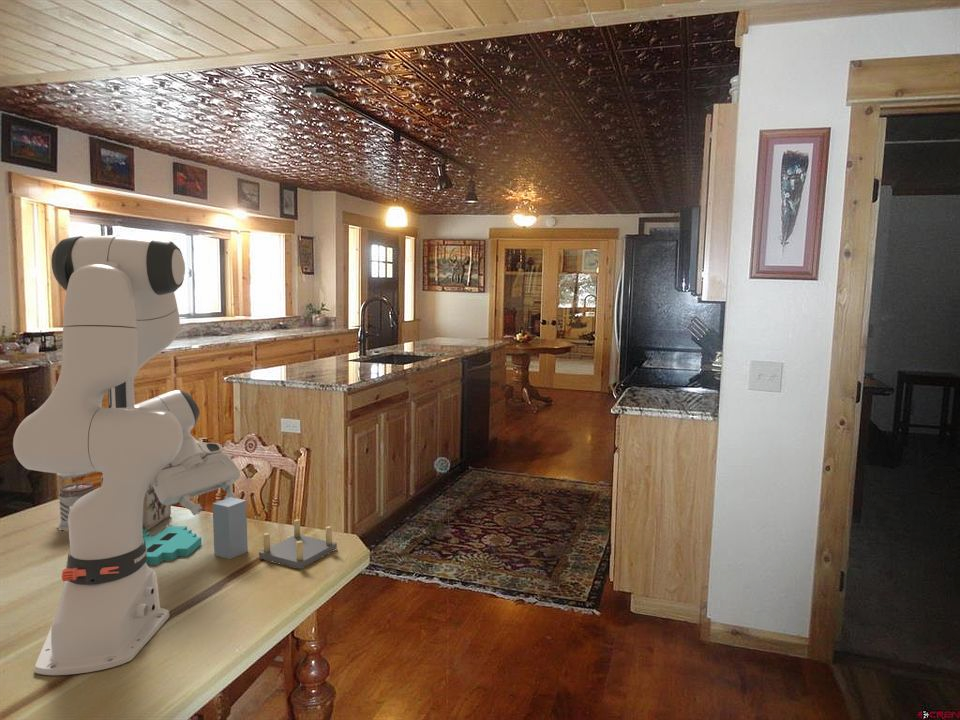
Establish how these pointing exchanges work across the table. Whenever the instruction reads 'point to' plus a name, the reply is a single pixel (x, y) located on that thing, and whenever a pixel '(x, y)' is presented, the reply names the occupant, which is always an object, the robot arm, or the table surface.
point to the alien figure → (170, 544)
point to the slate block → (230, 527)
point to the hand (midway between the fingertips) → (215, 506)
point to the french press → (77, 493)
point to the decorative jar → (152, 509)
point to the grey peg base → (297, 548)
